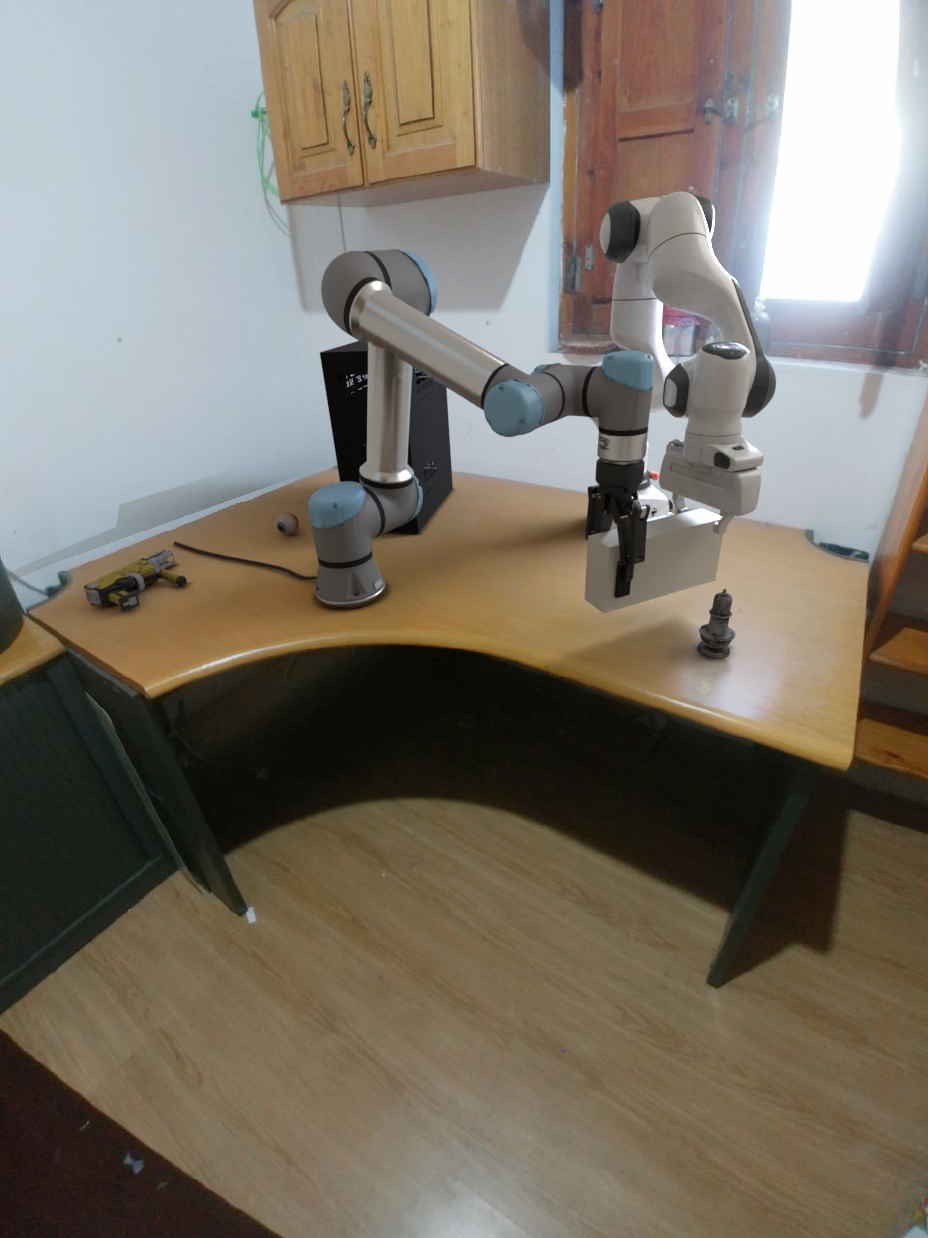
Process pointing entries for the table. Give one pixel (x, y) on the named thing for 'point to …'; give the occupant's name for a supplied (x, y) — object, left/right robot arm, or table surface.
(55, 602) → the table surface
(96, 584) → the toy gun
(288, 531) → the eyeball
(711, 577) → the box
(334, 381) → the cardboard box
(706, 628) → the dark grey chess piece
